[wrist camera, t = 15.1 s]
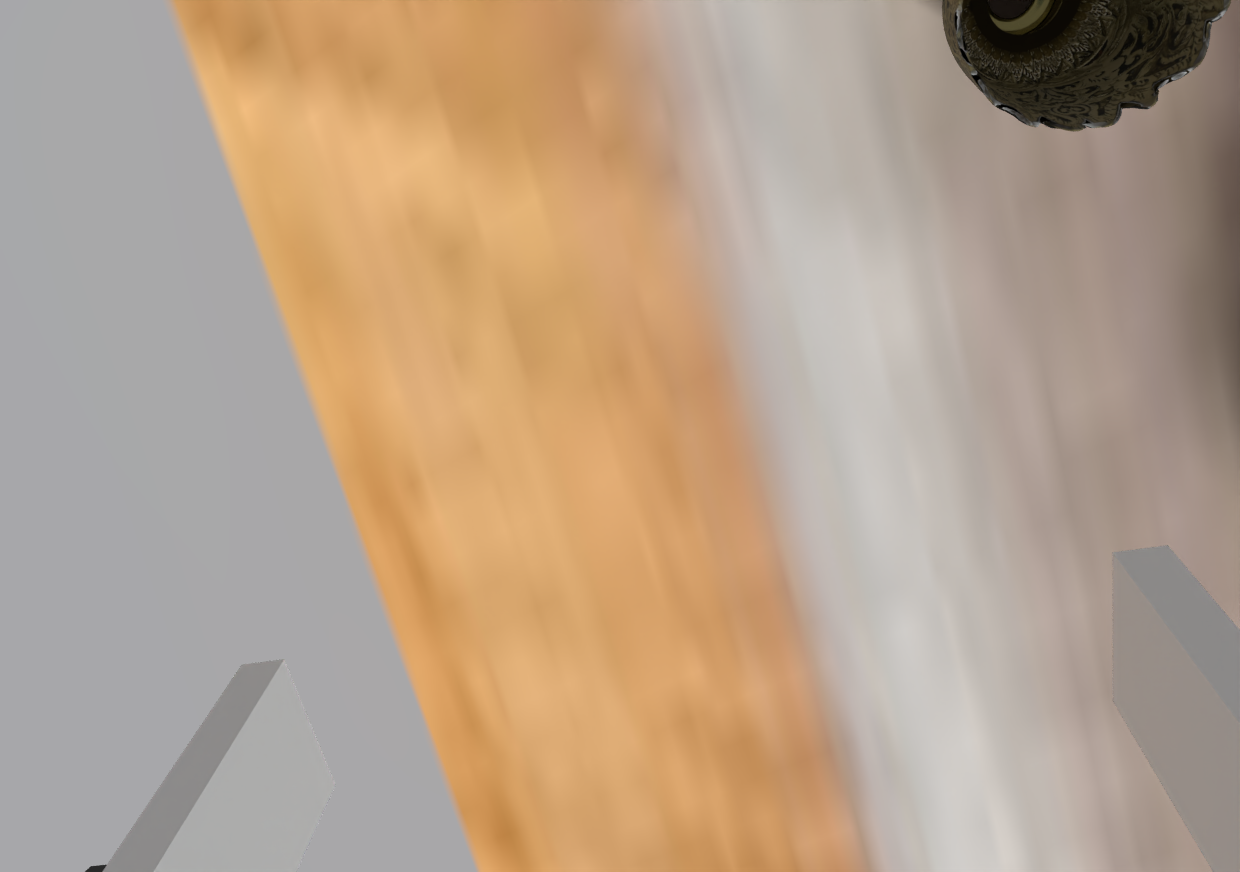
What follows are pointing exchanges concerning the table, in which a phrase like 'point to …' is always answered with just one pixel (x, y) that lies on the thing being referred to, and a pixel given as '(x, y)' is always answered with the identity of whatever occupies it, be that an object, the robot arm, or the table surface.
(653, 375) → the table surface
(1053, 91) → the cup
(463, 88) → the table surface
